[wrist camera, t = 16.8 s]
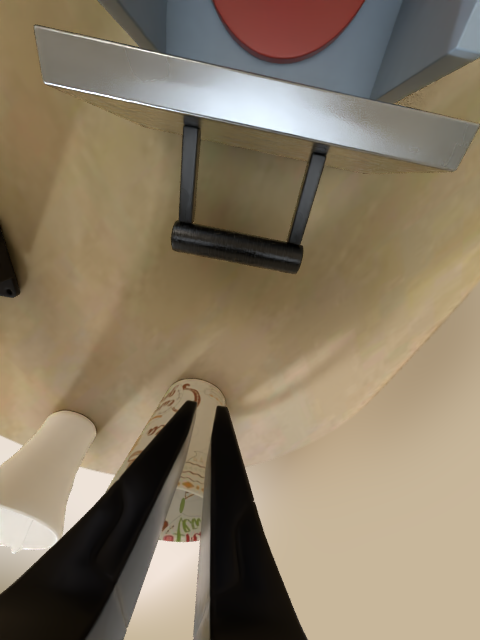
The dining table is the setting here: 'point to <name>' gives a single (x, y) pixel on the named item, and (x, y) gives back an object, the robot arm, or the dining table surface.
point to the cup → (42, 482)
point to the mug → (190, 488)
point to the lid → (286, 25)
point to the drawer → (275, 99)
